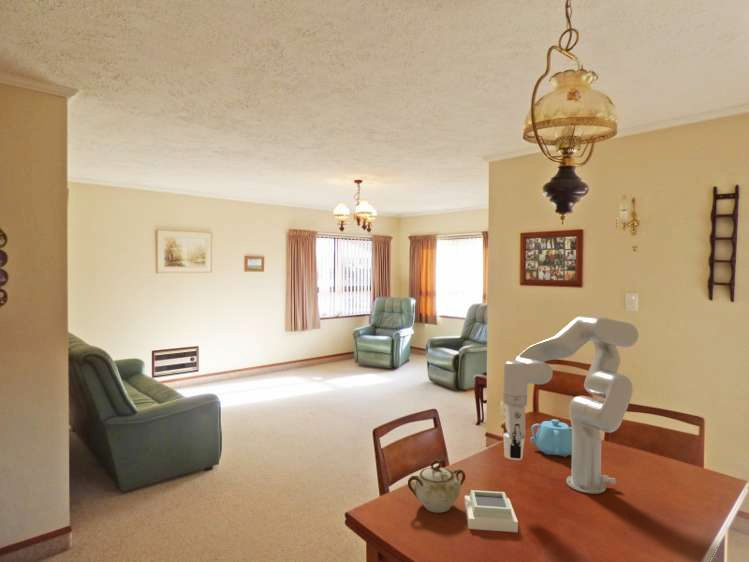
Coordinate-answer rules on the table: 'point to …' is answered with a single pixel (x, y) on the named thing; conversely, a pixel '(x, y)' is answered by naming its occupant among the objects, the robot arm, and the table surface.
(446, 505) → the sugar bowl
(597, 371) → the robot arm
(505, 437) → the white short cylinder
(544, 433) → the decorative pot
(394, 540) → the table surface
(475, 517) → the stand
